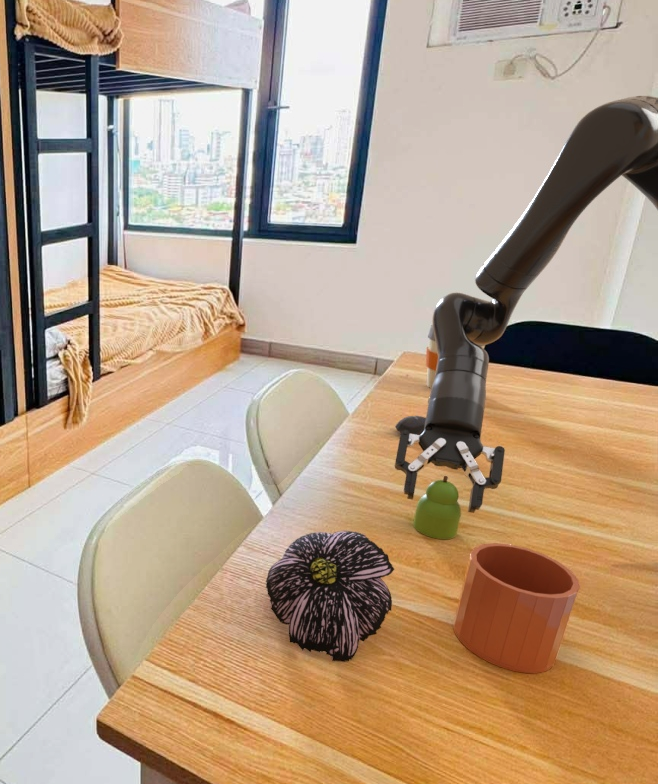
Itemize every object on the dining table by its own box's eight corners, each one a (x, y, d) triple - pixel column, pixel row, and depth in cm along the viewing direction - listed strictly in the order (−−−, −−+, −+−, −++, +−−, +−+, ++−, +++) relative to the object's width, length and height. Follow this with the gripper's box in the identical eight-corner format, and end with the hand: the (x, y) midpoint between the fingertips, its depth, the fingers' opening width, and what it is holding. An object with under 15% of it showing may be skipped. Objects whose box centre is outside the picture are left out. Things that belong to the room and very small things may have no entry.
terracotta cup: (564, 641, 73) (588, 569, 69) (543, 688, 66) (568, 610, 63) (468, 601, 80) (485, 533, 76) (440, 639, 73) (458, 567, 70)
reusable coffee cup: (410, 386, 156) (421, 328, 151) (429, 376, 164) (440, 320, 159) (466, 399, 148) (480, 338, 143) (483, 387, 156) (496, 328, 151)
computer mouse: (448, 439, 126) (452, 421, 125) (404, 440, 126) (407, 422, 125) (431, 428, 132) (435, 410, 130) (389, 429, 131) (392, 412, 130)
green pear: (461, 529, 95) (474, 476, 92) (448, 544, 92) (461, 489, 89) (421, 514, 99) (432, 463, 96) (407, 528, 96) (417, 475, 93)
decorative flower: (238, 546, 74) (335, 490, 78) (235, 597, 82) (323, 543, 86) (331, 648, 64) (436, 577, 68) (317, 695, 72) (413, 629, 76)
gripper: (406, 388, 98) (388, 484, 93) (516, 403, 92) (503, 508, 86) (403, 408, 104) (385, 500, 99) (504, 424, 98) (492, 524, 92)
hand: (440, 504), depth 93 cm, fingers open, 7 cm apart
